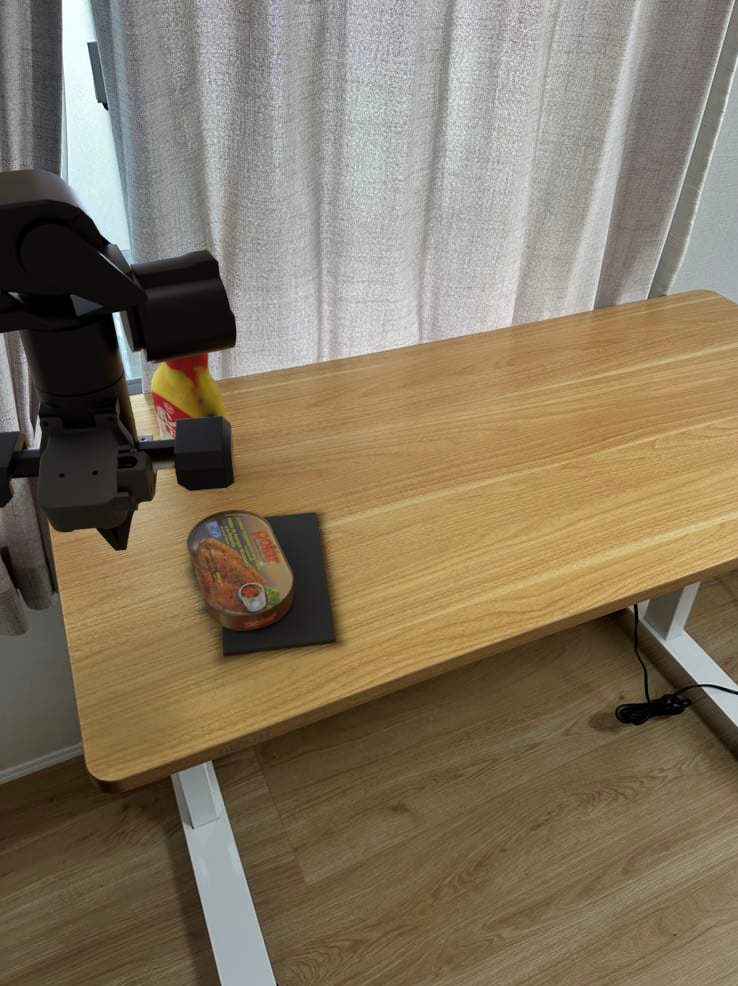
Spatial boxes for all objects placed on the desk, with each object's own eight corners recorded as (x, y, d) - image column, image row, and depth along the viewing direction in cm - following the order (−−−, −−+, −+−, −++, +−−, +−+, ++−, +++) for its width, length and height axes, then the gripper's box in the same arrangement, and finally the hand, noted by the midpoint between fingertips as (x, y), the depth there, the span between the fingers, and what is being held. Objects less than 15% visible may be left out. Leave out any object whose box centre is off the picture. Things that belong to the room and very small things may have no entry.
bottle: (247, 475, 92) (230, 315, 80) (196, 495, 89) (170, 331, 77) (201, 426, 99) (178, 273, 87) (152, 443, 96) (121, 287, 84)
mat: (223, 655, 71) (222, 652, 71) (221, 523, 85) (221, 520, 85) (335, 642, 73) (335, 639, 73) (316, 514, 87) (315, 511, 87)
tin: (178, 521, 81) (259, 497, 83) (185, 544, 83) (264, 519, 85) (212, 625, 70) (304, 594, 72) (219, 649, 72) (308, 617, 74)
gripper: (-112, 456, 46) (-30, 640, 55) (223, 431, 49) (245, 608, 58) (-60, 360, 54) (2, 533, 64) (221, 343, 58) (241, 510, 67)
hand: (121, 547), depth 63 cm, fingers closed
